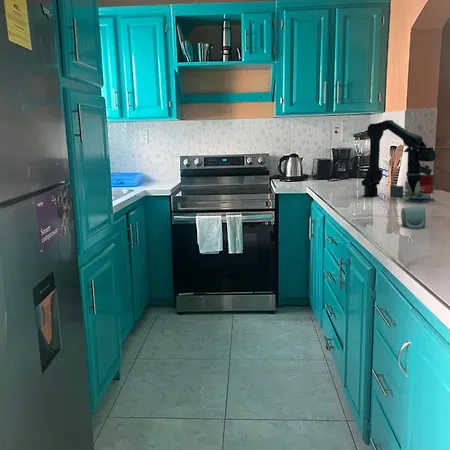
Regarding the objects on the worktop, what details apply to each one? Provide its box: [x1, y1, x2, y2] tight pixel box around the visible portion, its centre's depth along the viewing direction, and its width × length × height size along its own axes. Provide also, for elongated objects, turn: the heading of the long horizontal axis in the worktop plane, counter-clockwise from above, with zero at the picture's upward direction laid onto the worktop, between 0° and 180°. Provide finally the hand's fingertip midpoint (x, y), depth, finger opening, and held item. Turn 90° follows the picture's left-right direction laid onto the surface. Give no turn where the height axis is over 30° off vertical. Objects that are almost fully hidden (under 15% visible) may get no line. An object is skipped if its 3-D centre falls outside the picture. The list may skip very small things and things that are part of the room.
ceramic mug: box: [400, 205, 427, 230], centre depth 175 cm, size 11×8×8 cm
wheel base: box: [404, 197, 435, 204], centre depth 234 cm, size 10×10×1 cm
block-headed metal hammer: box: [389, 185, 410, 199], centre depth 246 cm, size 6×18×6 cm, turn 125°
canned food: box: [419, 172, 435, 195], centre depth 260 cm, size 8×8×11 cm
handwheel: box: [408, 188, 432, 200], centre depth 233 cm, size 10×10×8 cm
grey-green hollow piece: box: [403, 180, 420, 198], centre depth 249 cm, size 7×6×8 cm
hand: (413, 191), depth 234 cm, fingers open, 3 cm apart
